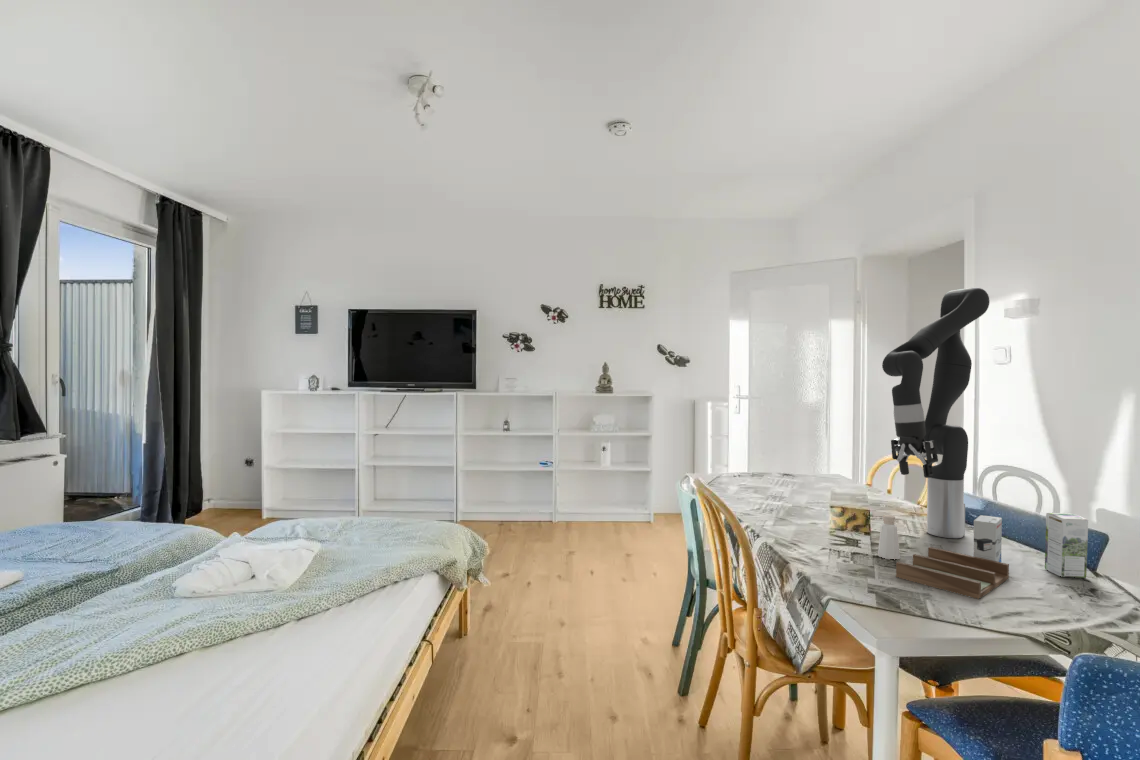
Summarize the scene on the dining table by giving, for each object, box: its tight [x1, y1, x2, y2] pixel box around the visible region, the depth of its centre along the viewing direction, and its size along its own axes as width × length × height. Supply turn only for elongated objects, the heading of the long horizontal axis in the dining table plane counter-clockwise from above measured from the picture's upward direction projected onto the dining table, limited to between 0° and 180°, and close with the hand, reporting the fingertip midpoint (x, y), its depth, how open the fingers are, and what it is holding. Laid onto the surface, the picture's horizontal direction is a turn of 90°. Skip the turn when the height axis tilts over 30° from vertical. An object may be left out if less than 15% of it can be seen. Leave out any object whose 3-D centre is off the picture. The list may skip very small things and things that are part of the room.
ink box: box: [973, 514, 1003, 563], centre depth 148 cm, size 8×5×12 cm, turn 135°
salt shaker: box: [877, 514, 901, 561], centre depth 154 cm, size 5×5×11 cm
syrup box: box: [1044, 512, 1089, 579], centre depth 140 cm, size 6×6×14 cm
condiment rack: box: [895, 546, 1010, 600], centre depth 138 cm, size 20×17×4 cm
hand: (916, 475), depth 166 cm, fingers open, 8 cm apart
